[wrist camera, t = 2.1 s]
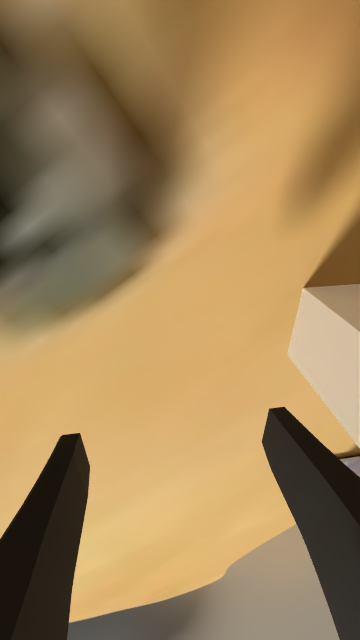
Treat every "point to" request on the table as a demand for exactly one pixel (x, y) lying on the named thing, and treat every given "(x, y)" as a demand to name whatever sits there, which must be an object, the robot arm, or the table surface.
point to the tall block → (331, 349)
